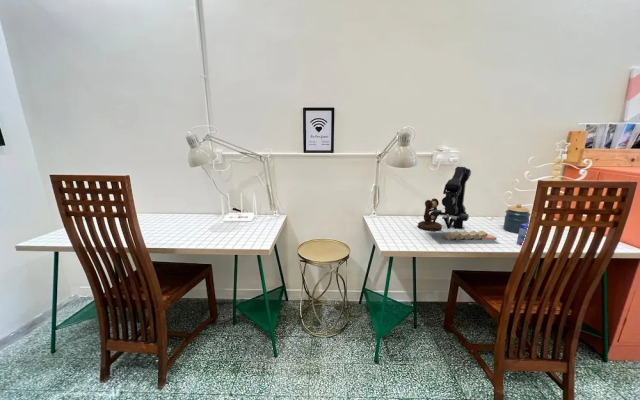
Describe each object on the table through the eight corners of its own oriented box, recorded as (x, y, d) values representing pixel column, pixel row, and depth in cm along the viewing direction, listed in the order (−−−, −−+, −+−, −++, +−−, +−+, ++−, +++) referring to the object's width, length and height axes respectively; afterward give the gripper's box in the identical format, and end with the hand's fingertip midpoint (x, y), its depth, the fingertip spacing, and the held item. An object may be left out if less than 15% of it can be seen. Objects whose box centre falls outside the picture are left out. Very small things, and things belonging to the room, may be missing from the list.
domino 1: (447, 237, 156) (460, 233, 155) (443, 234, 160) (456, 230, 160) (447, 240, 156) (461, 236, 155) (444, 237, 161) (457, 233, 160)
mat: (427, 232, 169) (427, 232, 169) (481, 232, 168) (481, 232, 168) (439, 244, 151) (439, 243, 151) (500, 244, 150) (500, 243, 150)
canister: (526, 229, 174) (531, 203, 170) (528, 235, 163) (533, 207, 159) (502, 225, 181) (506, 200, 177) (502, 231, 170) (507, 204, 166)
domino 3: (465, 237, 155) (478, 233, 155) (460, 234, 160) (473, 230, 160) (465, 240, 156) (479, 235, 155) (461, 237, 161) (474, 232, 160)
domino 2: (455, 237, 155) (469, 233, 155) (451, 234, 160) (465, 230, 160) (456, 240, 156) (470, 236, 155) (452, 237, 161) (465, 233, 160)
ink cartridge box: (526, 248, 144) (531, 223, 141) (515, 244, 149) (519, 220, 146) (537, 245, 148) (542, 220, 145) (526, 241, 153) (530, 217, 150)
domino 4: (473, 237, 155) (487, 233, 155) (469, 234, 160) (482, 230, 159) (474, 239, 156) (487, 235, 155) (469, 236, 161) (482, 232, 160)
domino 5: (482, 237, 155) (496, 237, 155) (477, 234, 160) (491, 234, 160) (482, 240, 155) (496, 240, 155) (477, 236, 160) (491, 236, 160)
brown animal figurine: (426, 223, 188) (428, 195, 183) (446, 229, 176) (449, 199, 171) (413, 227, 180) (415, 198, 175) (433, 233, 168) (435, 203, 163)
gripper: (472, 202, 154) (468, 228, 157) (438, 198, 165) (435, 222, 169) (468, 206, 145) (465, 233, 149) (432, 202, 157) (430, 227, 160)
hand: (448, 228), depth 157 cm, fingers closed
